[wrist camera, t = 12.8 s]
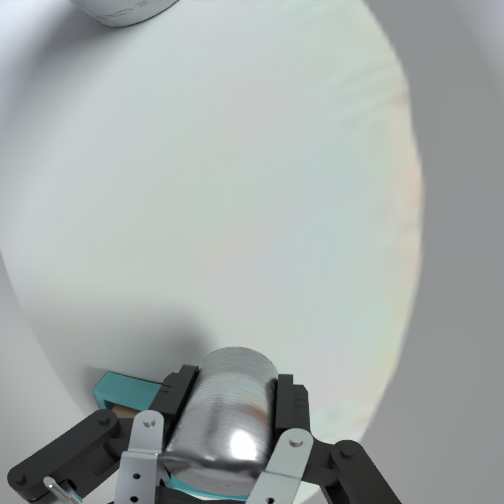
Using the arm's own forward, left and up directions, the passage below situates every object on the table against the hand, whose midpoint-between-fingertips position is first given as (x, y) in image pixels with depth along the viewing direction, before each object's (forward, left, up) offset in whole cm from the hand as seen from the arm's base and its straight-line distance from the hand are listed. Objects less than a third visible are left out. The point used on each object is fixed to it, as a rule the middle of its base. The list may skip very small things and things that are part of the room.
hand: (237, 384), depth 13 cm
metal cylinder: (0, 0, -1) cm, 1 cm away
